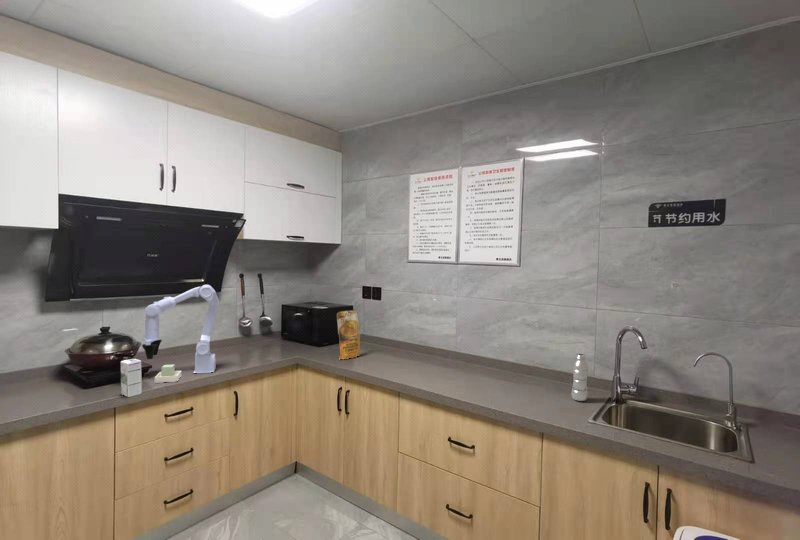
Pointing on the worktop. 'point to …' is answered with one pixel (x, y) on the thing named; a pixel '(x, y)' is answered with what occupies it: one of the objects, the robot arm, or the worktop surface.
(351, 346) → the pancake mix bag
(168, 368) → the block
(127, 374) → the syrup box
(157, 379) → the bin
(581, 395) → the plastic bottle
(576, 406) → the worktop surface
